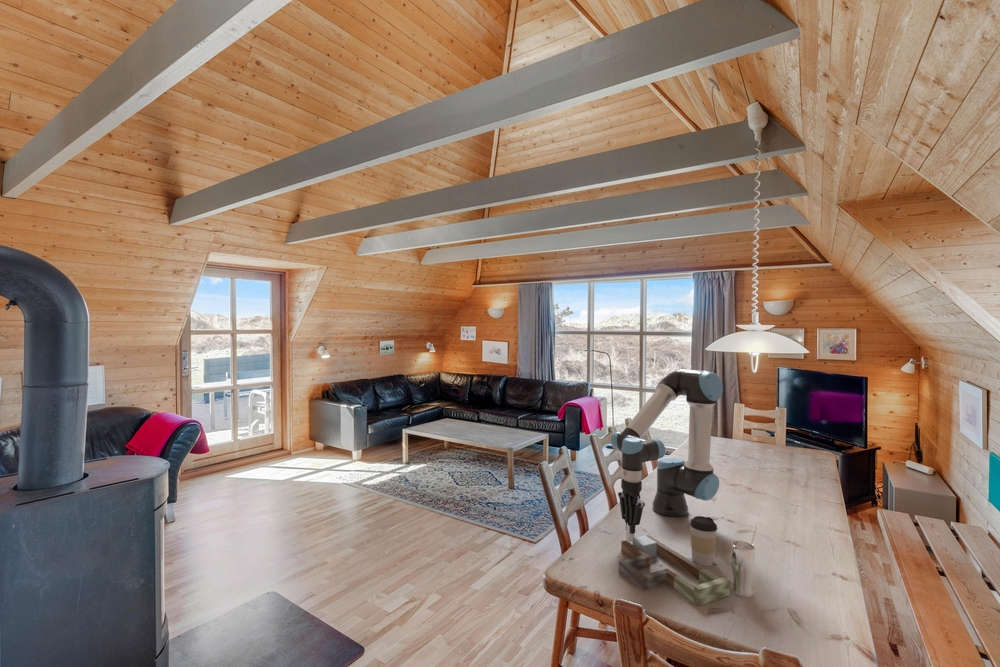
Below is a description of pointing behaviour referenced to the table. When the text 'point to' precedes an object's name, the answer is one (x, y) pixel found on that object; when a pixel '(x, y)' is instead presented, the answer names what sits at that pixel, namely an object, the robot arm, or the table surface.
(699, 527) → the coffee cup
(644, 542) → the block
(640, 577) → the corridor
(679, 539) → the table surface
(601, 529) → the table surface
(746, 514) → the table surface
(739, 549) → the beer glass
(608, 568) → the table surface
